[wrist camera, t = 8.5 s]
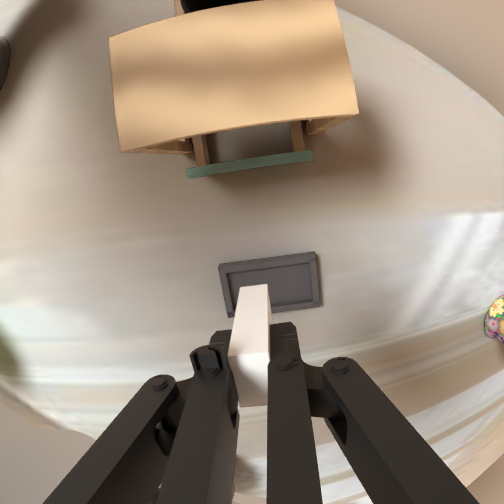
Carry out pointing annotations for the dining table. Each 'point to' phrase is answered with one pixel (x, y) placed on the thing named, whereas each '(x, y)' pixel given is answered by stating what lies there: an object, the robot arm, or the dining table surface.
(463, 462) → the dining table surface
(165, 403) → the robot arm
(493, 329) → the mug
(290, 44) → the brown wooden frame
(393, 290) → the dining table surface
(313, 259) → the tray
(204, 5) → the cup
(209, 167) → the sled
